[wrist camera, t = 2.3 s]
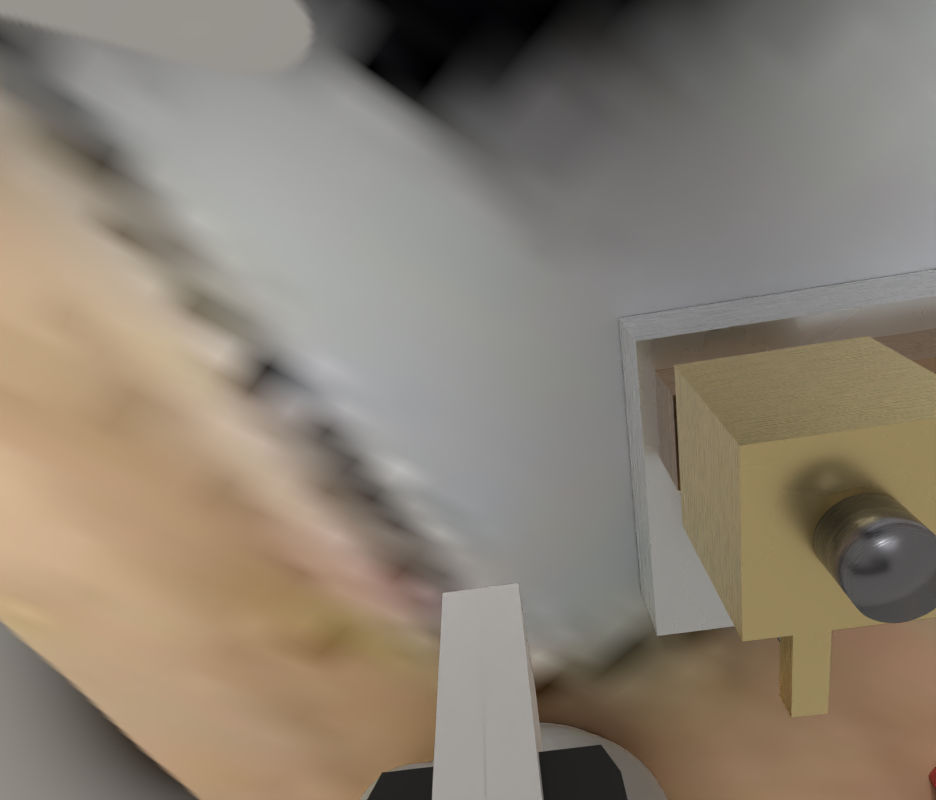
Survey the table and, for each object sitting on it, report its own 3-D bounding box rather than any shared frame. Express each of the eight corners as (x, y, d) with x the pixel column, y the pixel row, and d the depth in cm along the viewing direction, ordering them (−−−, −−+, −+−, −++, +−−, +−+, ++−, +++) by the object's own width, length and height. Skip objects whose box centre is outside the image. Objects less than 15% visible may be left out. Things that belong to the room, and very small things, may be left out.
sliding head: (656, 344, 20) (772, 485, 13) (834, 317, 20) (1061, 445, 12) (673, 616, 24) (770, 852, 16) (823, 597, 24) (992, 828, 16)
